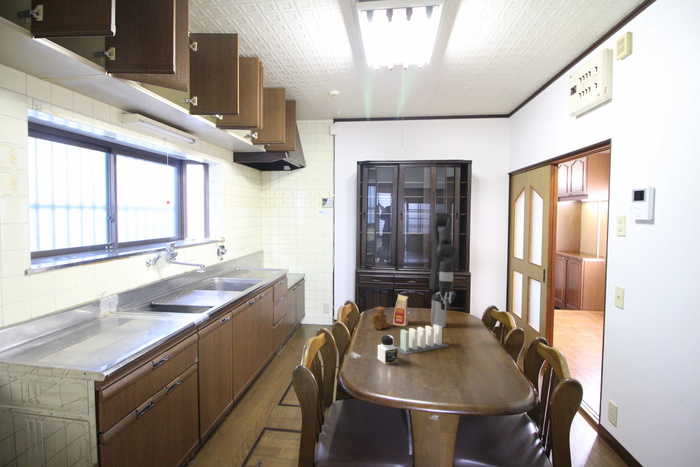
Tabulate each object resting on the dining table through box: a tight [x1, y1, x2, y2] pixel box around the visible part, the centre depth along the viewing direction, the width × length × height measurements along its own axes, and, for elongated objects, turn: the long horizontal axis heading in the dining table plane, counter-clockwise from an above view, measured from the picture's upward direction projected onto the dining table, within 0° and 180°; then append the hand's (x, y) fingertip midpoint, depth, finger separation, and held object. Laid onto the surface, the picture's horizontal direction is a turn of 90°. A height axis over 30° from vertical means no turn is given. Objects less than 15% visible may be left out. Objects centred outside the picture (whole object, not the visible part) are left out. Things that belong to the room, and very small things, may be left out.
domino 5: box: [432, 324, 443, 345], centre depth 176 cm, size 2×5×10 cm, turn 25°
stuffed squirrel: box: [370, 306, 391, 330], centre depth 203 cm, size 10×14×13 cm
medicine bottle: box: [377, 334, 398, 365], centre depth 154 cm, size 7×7×12 cm
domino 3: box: [416, 326, 426, 348], centre depth 171 cm, size 2×5×10 cm, turn 24°
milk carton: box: [392, 293, 409, 327], centre depth 212 cm, size 9×9×20 cm
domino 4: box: [424, 325, 434, 347], centre depth 174 cm, size 2×5×10 cm, turn 24°
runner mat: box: [396, 341, 450, 356], centre depth 171 cm, size 10×30×1 cm, turn 114°
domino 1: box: [399, 329, 409, 351], centre depth 167 cm, size 2×5×10 cm, turn 24°
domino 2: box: [408, 327, 418, 350], centre depth 169 cm, size 2×5×10 cm, turn 24°
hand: (445, 309), depth 178 cm, fingers open, 3 cm apart
